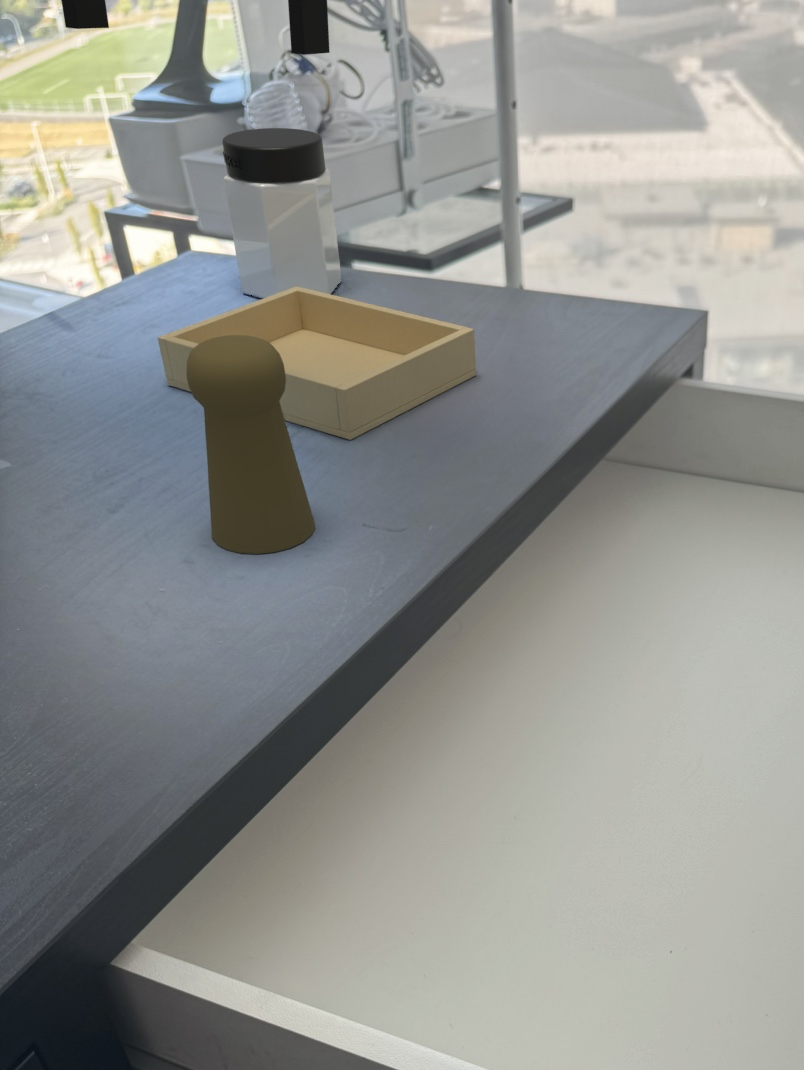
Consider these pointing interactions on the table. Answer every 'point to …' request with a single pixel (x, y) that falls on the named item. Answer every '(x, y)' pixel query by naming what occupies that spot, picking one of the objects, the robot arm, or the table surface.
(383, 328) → the tray
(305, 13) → the robot arm
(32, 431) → the table surface
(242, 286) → the jar
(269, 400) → the cork
